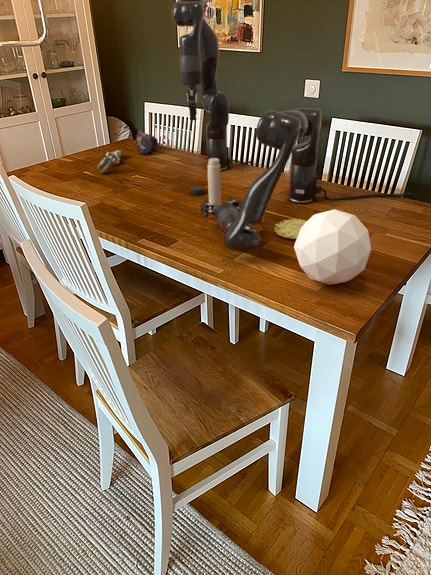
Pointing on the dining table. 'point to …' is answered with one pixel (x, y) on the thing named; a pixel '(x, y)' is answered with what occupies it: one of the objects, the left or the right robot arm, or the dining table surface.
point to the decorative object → (290, 228)
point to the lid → (196, 190)
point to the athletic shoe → (146, 142)
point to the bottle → (214, 181)
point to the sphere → (333, 247)
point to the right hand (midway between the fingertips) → (217, 200)
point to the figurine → (110, 160)
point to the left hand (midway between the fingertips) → (193, 117)
